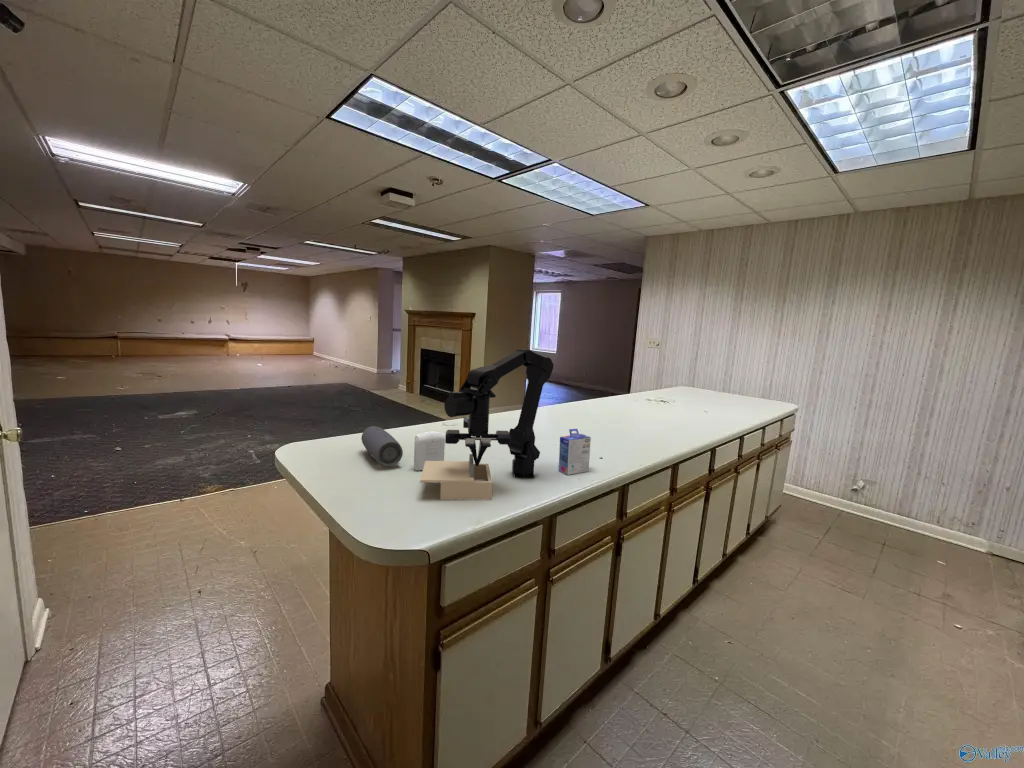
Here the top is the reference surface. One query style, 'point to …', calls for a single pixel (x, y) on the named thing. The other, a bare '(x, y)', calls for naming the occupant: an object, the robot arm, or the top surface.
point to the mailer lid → (448, 471)
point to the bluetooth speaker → (382, 446)
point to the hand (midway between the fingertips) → (476, 465)
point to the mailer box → (470, 486)
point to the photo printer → (428, 448)
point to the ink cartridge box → (574, 453)
